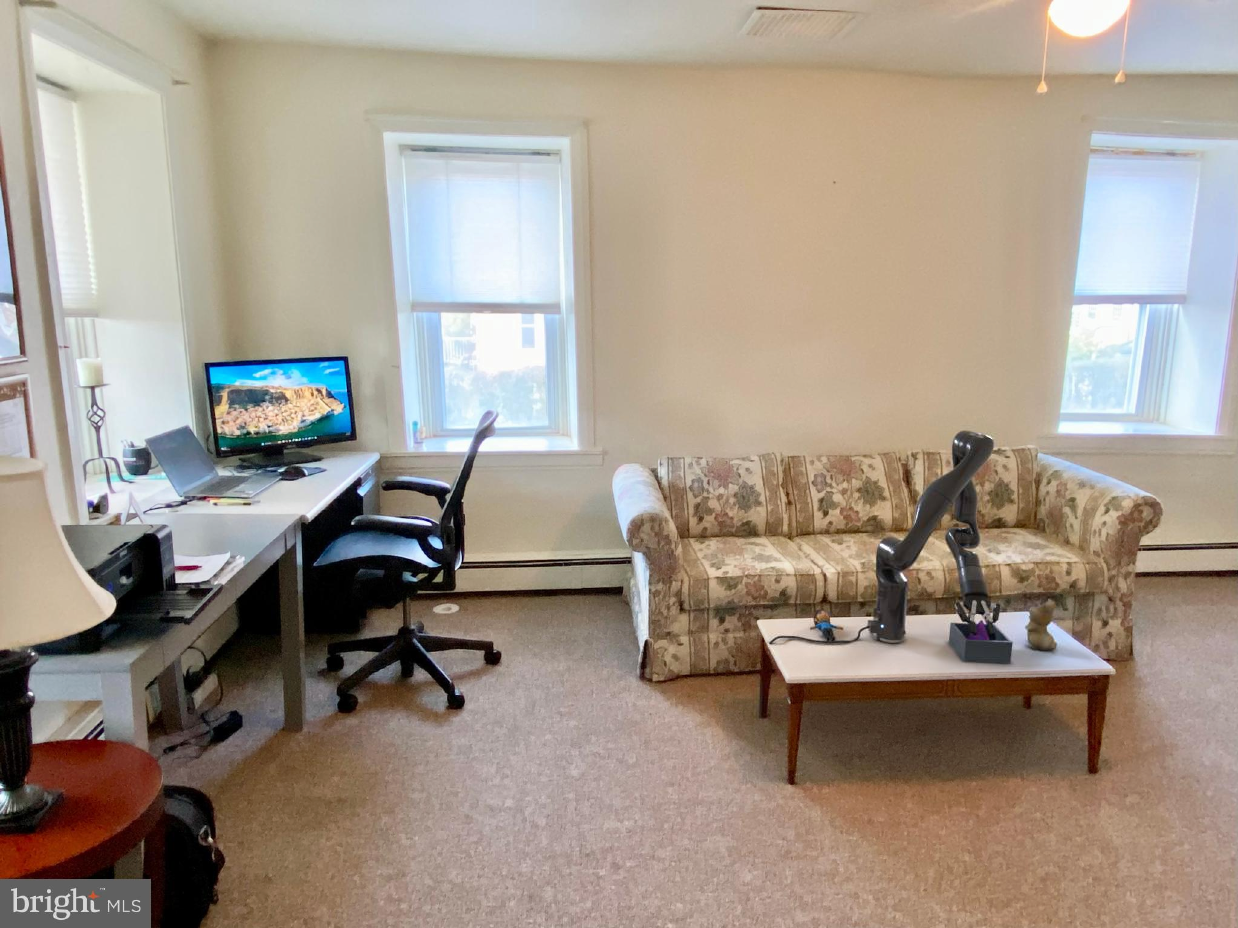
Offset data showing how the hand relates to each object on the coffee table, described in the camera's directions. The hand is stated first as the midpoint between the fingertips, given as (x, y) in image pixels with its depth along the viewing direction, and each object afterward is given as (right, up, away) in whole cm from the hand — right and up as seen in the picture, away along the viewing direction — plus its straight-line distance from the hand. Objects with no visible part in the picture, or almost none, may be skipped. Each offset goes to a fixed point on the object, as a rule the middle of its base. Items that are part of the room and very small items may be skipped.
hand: (983, 634), depth 231 cm
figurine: (+22, -6, +9) cm, 24 cm away
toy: (-44, -4, +17) cm, 47 cm away
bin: (0, -6, +3) cm, 7 cm away
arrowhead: (0, -6, +3) cm, 7 cm away
